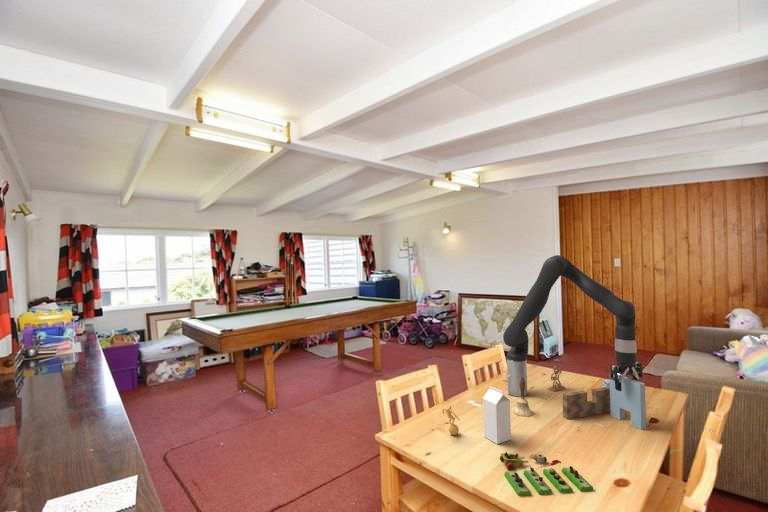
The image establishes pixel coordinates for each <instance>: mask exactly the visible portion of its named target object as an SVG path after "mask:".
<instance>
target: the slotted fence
mask: <svg viewBox="0 0 768 512" xmlns="http://www.w3.org/2000/svg"><path fill="white" fill-rule="evenodd" d="M606 413H611V411H610V387H598V388H591V400H588V392H587V391H584V390H578V391H572V392H570V391H569V392H565V393H562V417H563V418H564V419H566V420H571V419H577V418H578V419H579V418H583V417H588V416H589V417H590V416H595V415H599V414H601V415H602V414H606Z"/></svg>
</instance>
